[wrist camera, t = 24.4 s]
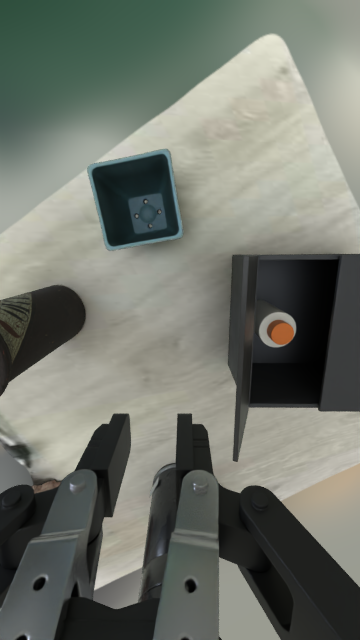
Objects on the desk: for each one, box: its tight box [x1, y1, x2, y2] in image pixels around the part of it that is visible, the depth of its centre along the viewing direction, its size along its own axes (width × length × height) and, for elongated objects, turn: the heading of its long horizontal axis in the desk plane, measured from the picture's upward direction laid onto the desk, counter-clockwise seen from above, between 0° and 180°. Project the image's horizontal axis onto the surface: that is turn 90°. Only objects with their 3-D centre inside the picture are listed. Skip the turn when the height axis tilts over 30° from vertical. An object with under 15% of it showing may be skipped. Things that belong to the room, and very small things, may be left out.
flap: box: [233, 255, 258, 462], centre depth 23 cm, size 17×8×1 cm
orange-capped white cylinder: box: [254, 300, 296, 347], centre depth 34 cm, size 4×4×10 cm
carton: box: [228, 254, 360, 411], centre depth 33 cm, size 17×16×13 cm
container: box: [0, 285, 85, 396], centre depth 30 cm, size 9×9×20 cm
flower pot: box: [87, 149, 183, 251], centre depth 32 cm, size 9×9×9 cm
